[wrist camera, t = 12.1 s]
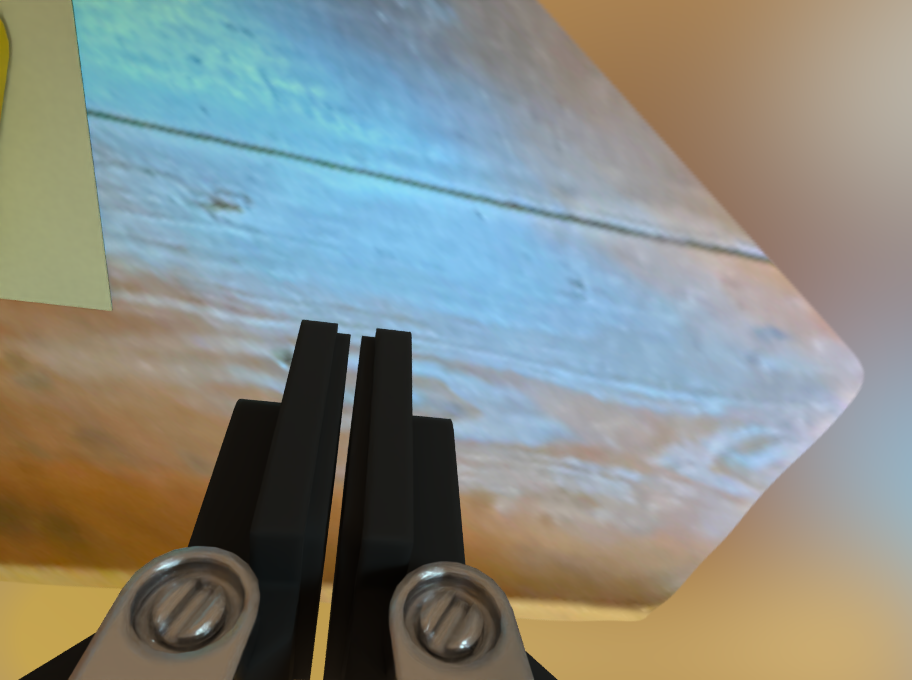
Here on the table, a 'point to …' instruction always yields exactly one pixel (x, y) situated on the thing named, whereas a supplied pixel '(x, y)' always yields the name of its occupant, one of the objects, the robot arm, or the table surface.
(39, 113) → the mat
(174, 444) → the table surface
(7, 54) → the element tile
